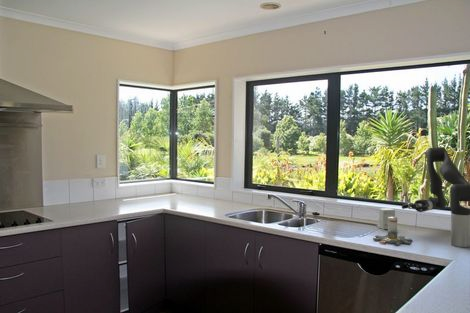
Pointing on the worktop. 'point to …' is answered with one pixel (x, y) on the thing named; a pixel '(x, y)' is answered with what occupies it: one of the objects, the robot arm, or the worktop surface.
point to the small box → (385, 217)
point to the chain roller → (392, 227)
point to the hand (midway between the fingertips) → (409, 207)
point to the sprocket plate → (393, 240)
